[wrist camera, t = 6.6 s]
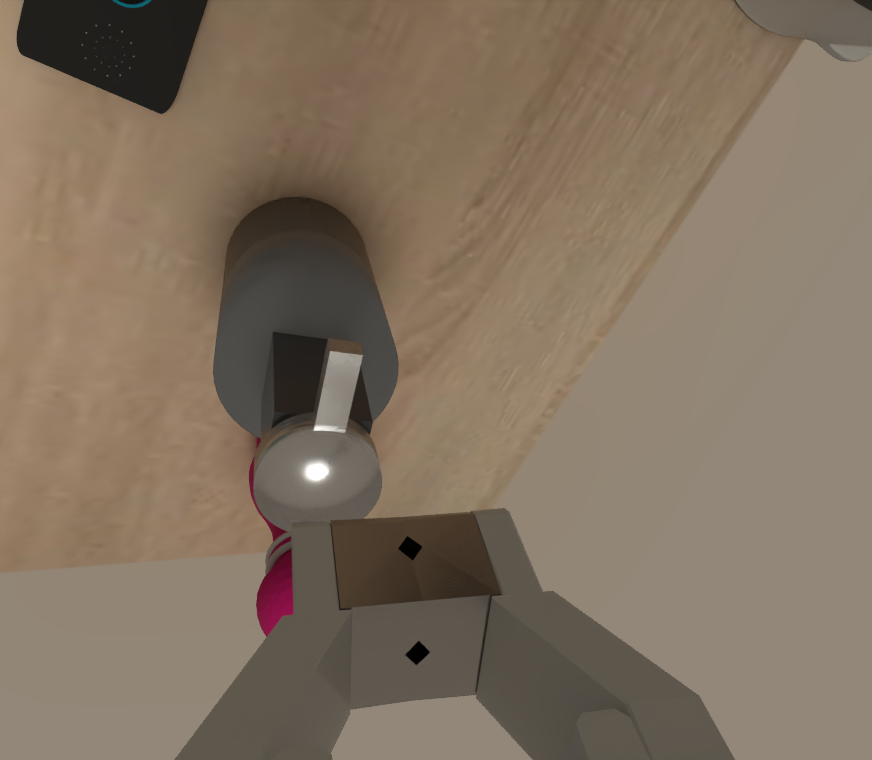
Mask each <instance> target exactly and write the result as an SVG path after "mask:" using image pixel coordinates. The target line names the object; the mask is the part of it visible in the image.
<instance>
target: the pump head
mask: <svg viewBox="0 0 872 760" xmlns="http://www.w3.org/2000/svg"><path fill="white" fill-rule="evenodd" d="M362 357H363V353H362V349H361V345H360V342H353V341H345V340H338V339H330V338H328V342H327V347H326V351H325V356H324V361H323V366H322V371H321V376H320V381H319V386H318V391H317V396H316V401H315V406H314V411H313V412H310V413H304V414H300V415H296V416H293V417H291V418H288V419H286V420H284V421H282V422H281V423H279V424H278V425H276V426H275V427H273V428H272V429H271V430H270V431H269V432H268V433H267V434H266V435H265V436H264V438H263V439H262V441H261V442H260V444H259V446H258V448H257V450H256V454H255V458H254V487H253V490H254V498H255V501H256V504H257V506H258V508H259V510H260V511H261V513H262V514H263V515H264V517H265V518H266V519H267V520H269V521H270V522H271V523H272V524H274V525H275V526H277V527H278V528H280V529H283V530H285V531H287V532H290V533H291V527H292V523H297V522H318V521H328V522H329V523H330V520H347V519H363V518H364V517H365V516H367V514H368V513H369V512H370V511H371V510H372V509H373V507H374V506H375V504H376V502H377V501H378V499H379V496H380V493H381V488H382V476H381V470H380V465H379V461H378V456H377V451H376V447H375V444H374V442H373V440H372V438H371V436H370V435H369V434H368V432H367V431H366V430H365V429H364V428H363V427H362V426H361V425H359V424H358V423H357V422H355V421H353V420H351V419H350V418H349V414H350V409H351V405H352V401H353V396H354V392H355V388H356V383H357V379H358V375H359V370H360V366H361V361H362Z"/></svg>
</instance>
